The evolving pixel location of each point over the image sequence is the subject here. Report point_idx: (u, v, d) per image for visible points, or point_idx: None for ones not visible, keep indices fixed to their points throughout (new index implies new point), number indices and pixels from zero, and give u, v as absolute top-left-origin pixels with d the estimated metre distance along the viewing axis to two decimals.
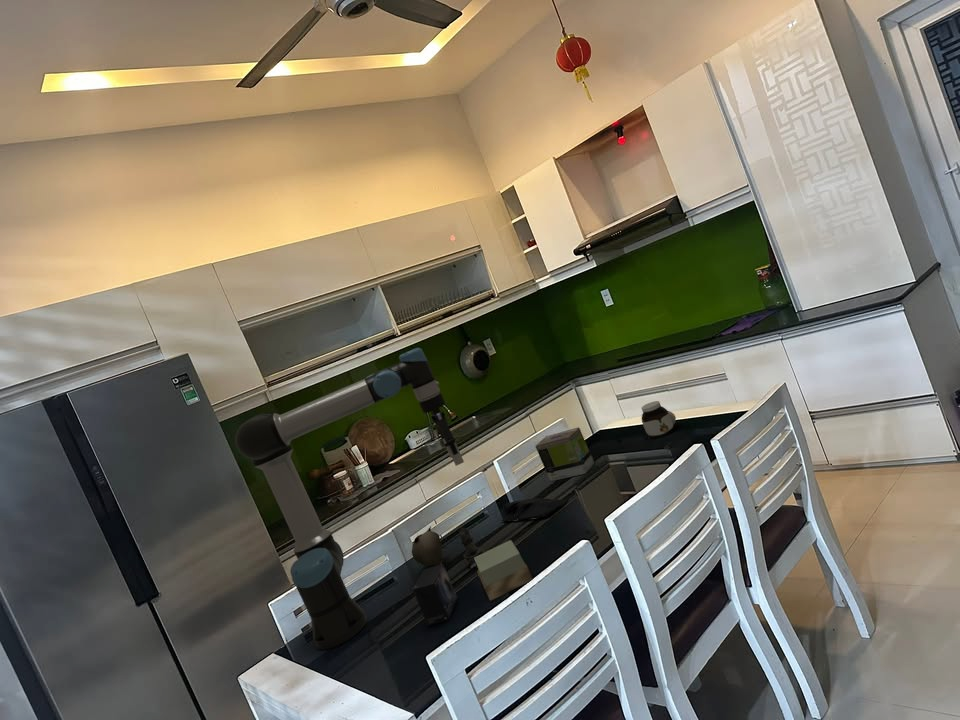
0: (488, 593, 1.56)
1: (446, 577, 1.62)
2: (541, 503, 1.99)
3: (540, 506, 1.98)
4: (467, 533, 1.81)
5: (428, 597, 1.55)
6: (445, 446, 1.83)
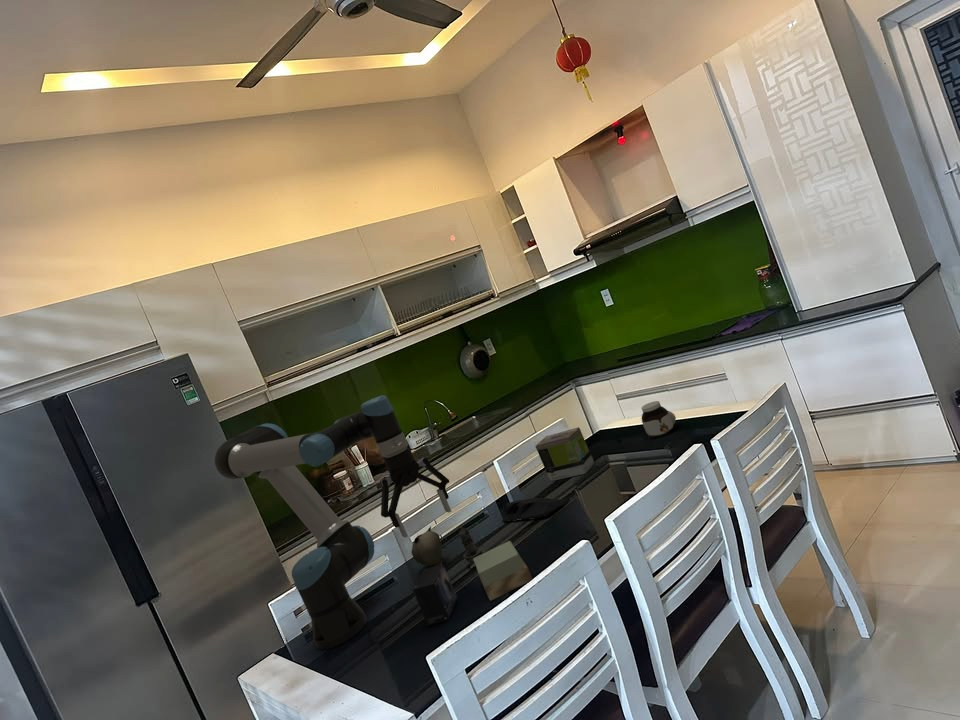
0: (488, 593, 1.56)
1: (446, 577, 1.62)
2: (542, 503, 1.99)
3: (541, 506, 1.98)
4: (467, 533, 1.81)
5: (428, 596, 1.55)
6: None
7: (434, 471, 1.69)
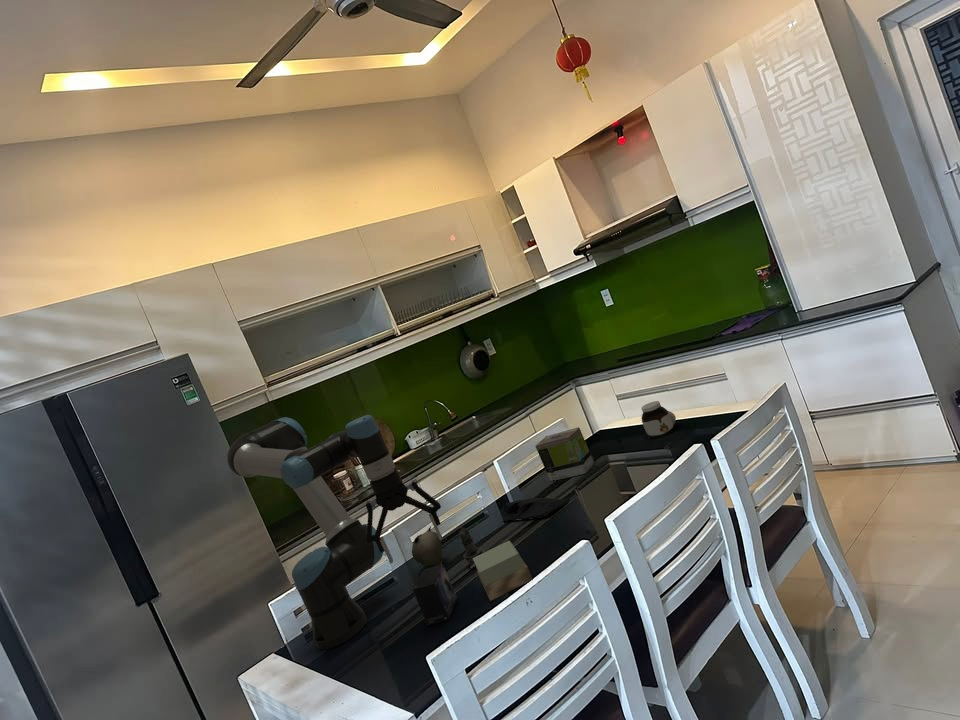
0: (488, 593, 1.56)
1: (446, 577, 1.62)
2: (542, 503, 1.99)
3: (541, 506, 1.98)
4: (467, 533, 1.81)
5: (428, 597, 1.55)
6: None
7: (423, 496, 1.58)
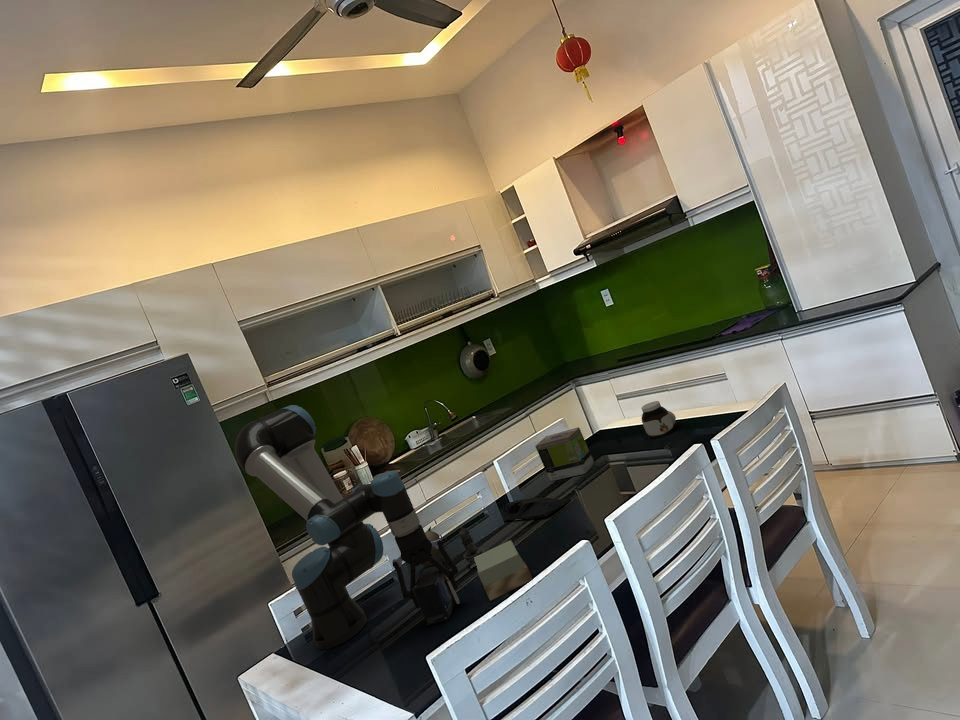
0: (488, 593, 1.56)
1: (446, 577, 1.62)
2: (543, 502, 1.99)
3: (542, 506, 1.98)
4: (467, 533, 1.81)
5: (428, 596, 1.55)
6: None
7: (445, 557, 1.59)
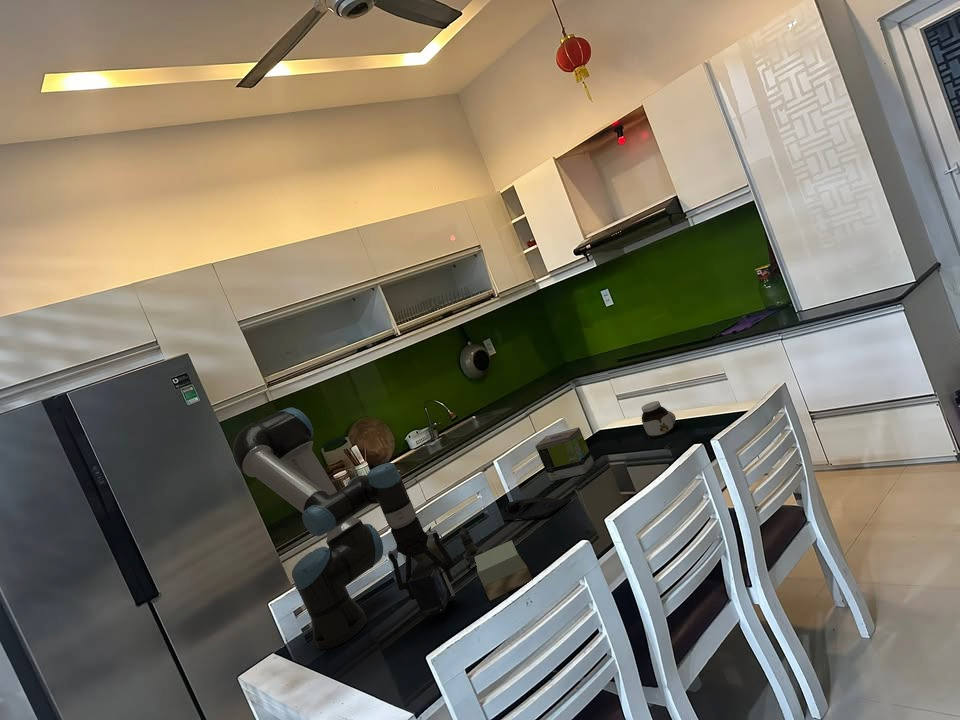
0: (488, 593, 1.56)
1: (441, 569, 1.63)
2: (543, 502, 1.99)
3: (542, 506, 1.98)
4: (467, 533, 1.81)
5: (423, 588, 1.55)
6: None
7: (441, 549, 1.59)
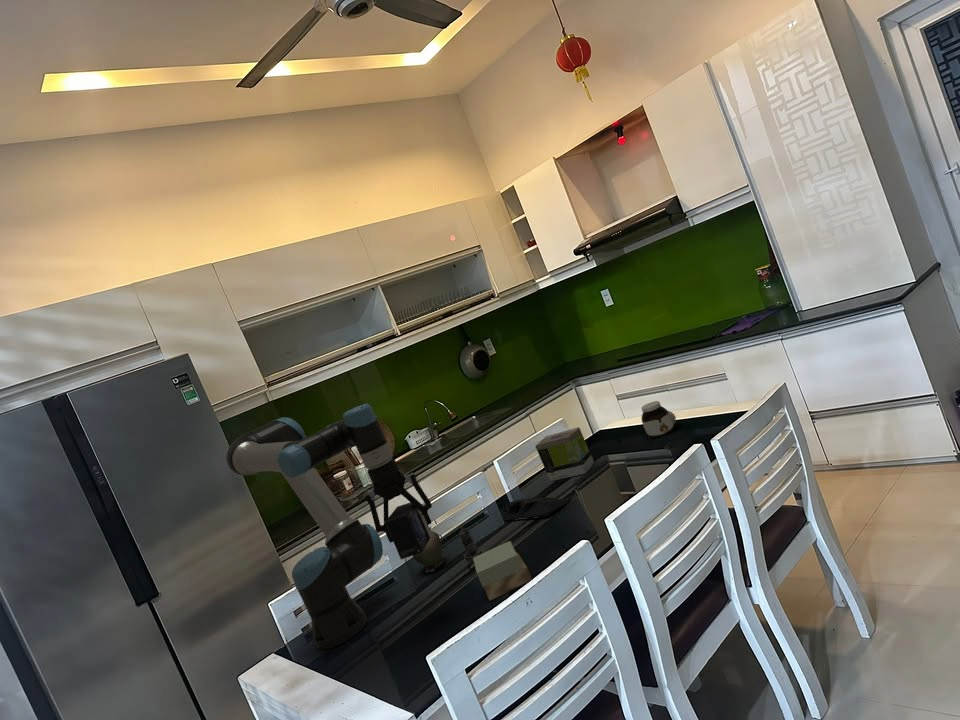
0: (488, 593, 1.56)
1: (420, 512, 1.61)
2: (544, 502, 1.99)
3: (543, 505, 1.98)
4: (467, 533, 1.81)
5: (400, 529, 1.54)
6: None
7: (418, 491, 1.58)
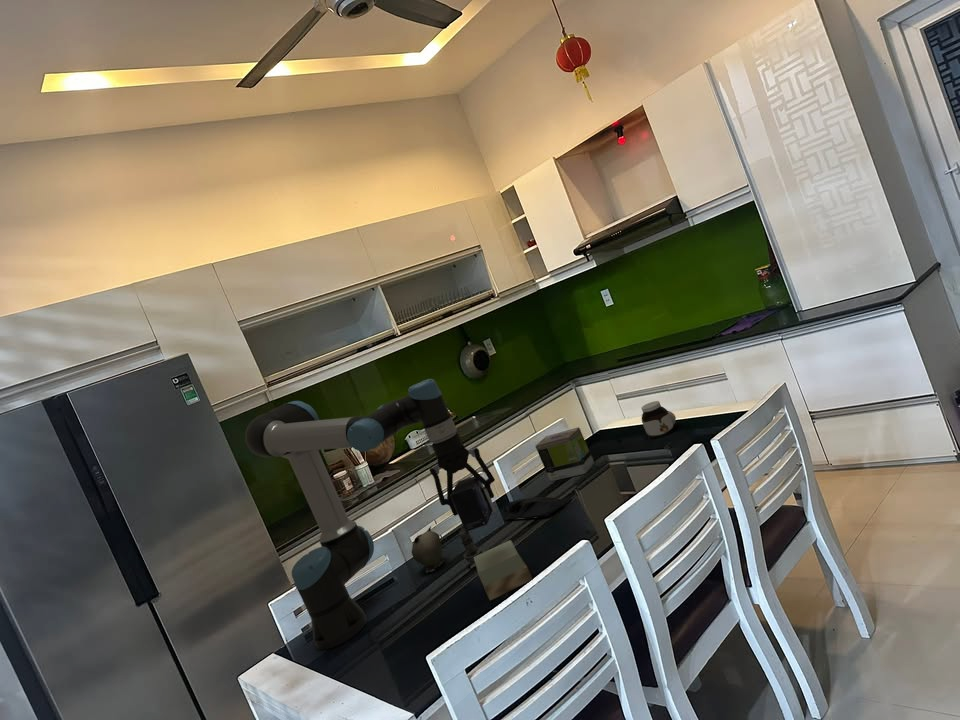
0: (488, 593, 1.56)
1: (482, 486, 1.63)
2: (544, 502, 1.99)
3: (543, 505, 1.98)
4: (467, 533, 1.81)
5: (466, 502, 1.56)
6: None
7: (482, 464, 1.60)
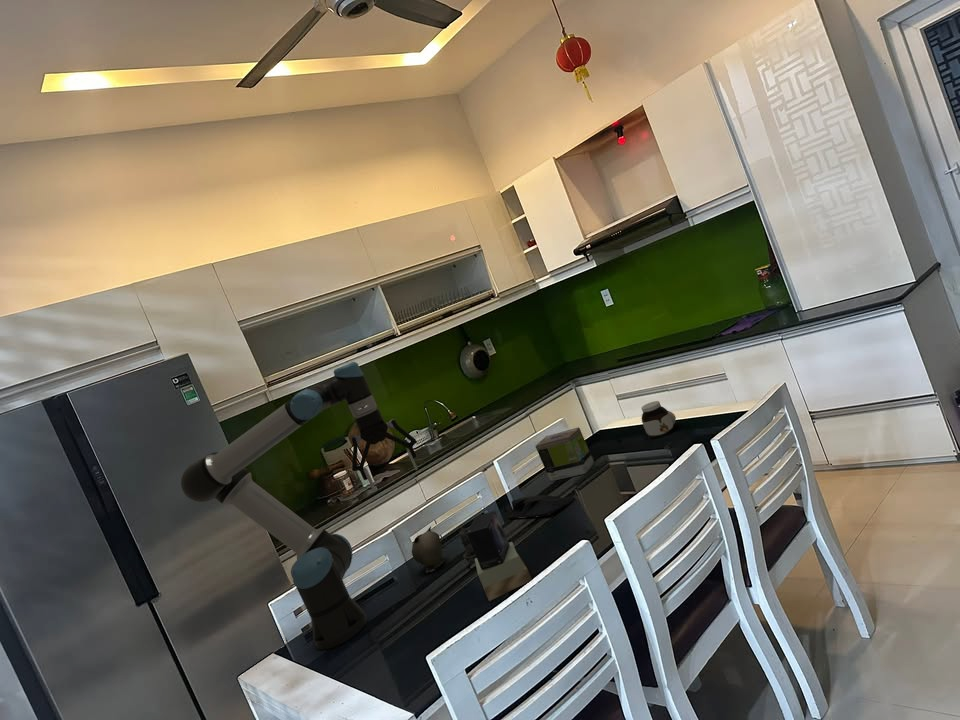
0: (488, 595, 1.56)
1: (498, 523, 1.63)
2: (547, 501, 1.99)
3: (546, 504, 1.98)
4: None
5: (482, 540, 1.56)
6: None
7: (401, 432, 1.83)
